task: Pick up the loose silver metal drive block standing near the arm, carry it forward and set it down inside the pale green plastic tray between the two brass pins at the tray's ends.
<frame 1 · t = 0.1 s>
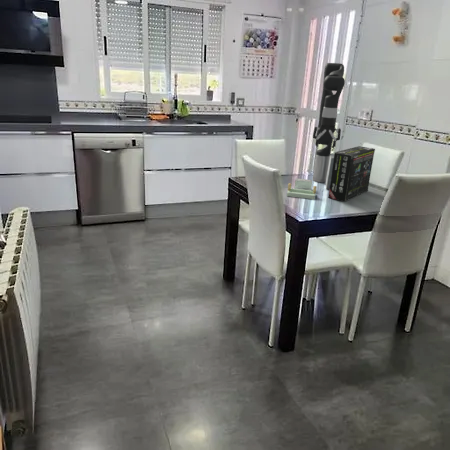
hand: (324, 147, 216), 29 cm above the table, tool pointing down, fingers open, 8 cm apart
drive: (302, 189, 244), on the table
hard drive box: (331, 187, 253), on the table
router box: (348, 194, 239), on the table
tray: (301, 195, 231), on the table
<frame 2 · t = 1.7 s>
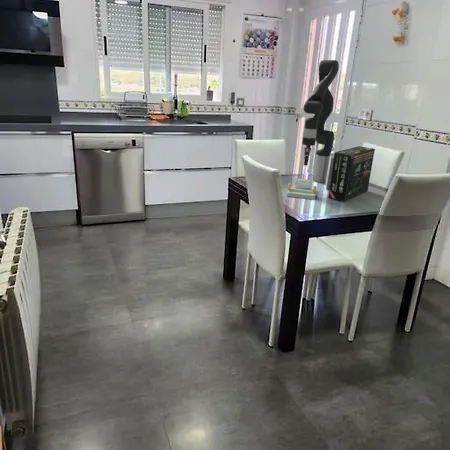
hand: (305, 163, 239), 16 cm above the table, tool pointing down, fingers open, 8 cm apart
nothing on the table moved.
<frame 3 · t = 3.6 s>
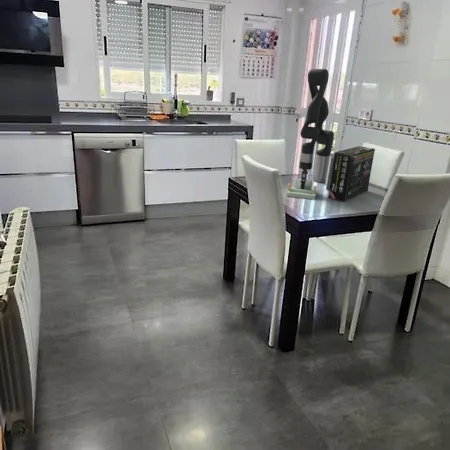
hand: (302, 188, 244), 1 cm above the table, tool pointing down, fingers closed on drive, 5 cm apart
drive: (302, 189, 244), on the table, touching gripper
everything else where it was.
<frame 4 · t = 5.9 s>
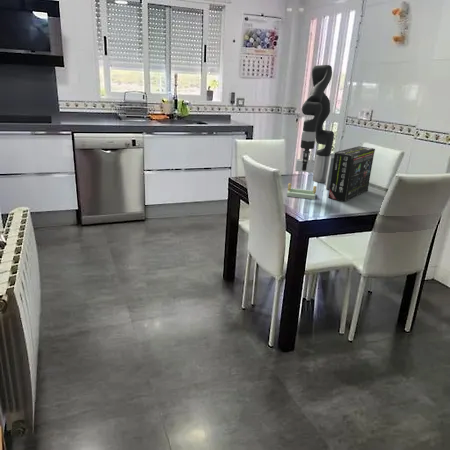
hand: (304, 169, 226), 15 cm above the table, tool pointing down, fingers closed on drive, 5 cm apart
drive: (304, 170, 227), point 14 cm above the table, touching gripper
everything else where it was.
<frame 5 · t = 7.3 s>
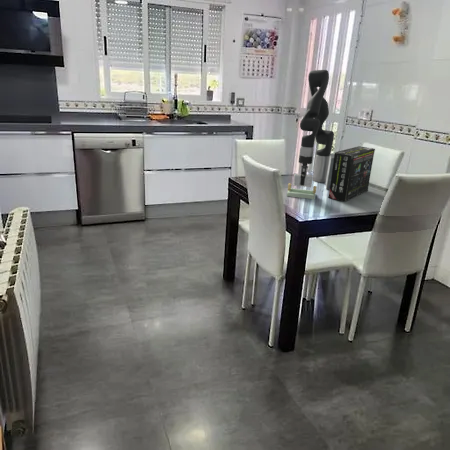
hand: (302, 183, 229), 7 cm above the table, tool pointing down, fingers closed on drive, 5 cm apart
drive: (302, 185, 229), point 6 cm above the table, touching gripper
everything else where it was.
when the fingers open (3 cm above the table, at t = 8.6 s): drive drops 1 cm, resting on tray.
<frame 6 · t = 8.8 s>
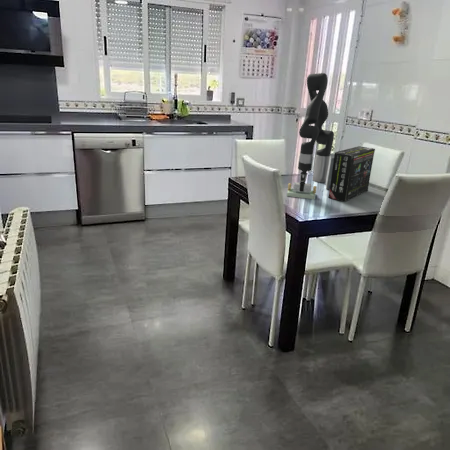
hand: (301, 189, 230), 3 cm above the table, tool pointing down, fingers open, 7 cm apart
drive: (301, 194, 232), point 1 cm above the table, touching tray
everything else where it was.
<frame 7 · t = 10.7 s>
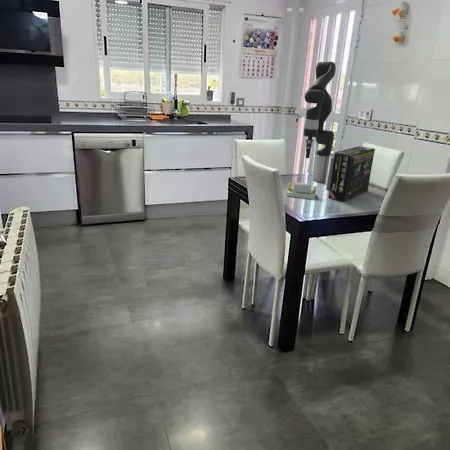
hand: (307, 156, 227), 22 cm above the table, tool pointing down, fingers open, 8 cm apart
nothing on the table moved.
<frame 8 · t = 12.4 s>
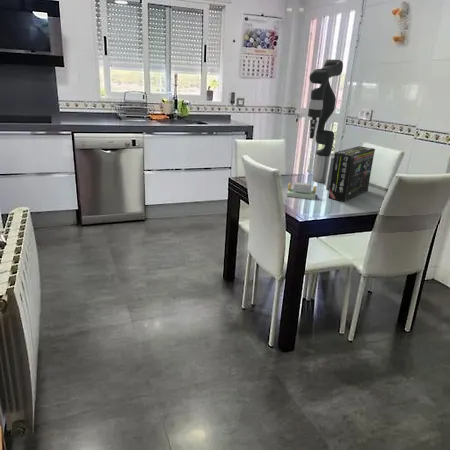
hand: (311, 137, 229), 32 cm above the table, tool pointing down, fingers open, 8 cm apart
nothing on the table moved.
at the end: drive 0.3 cm off-centre on the tray, point 0.6 cm above the tray's base; drive tilted 0°; the gripper is holding nothing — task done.
